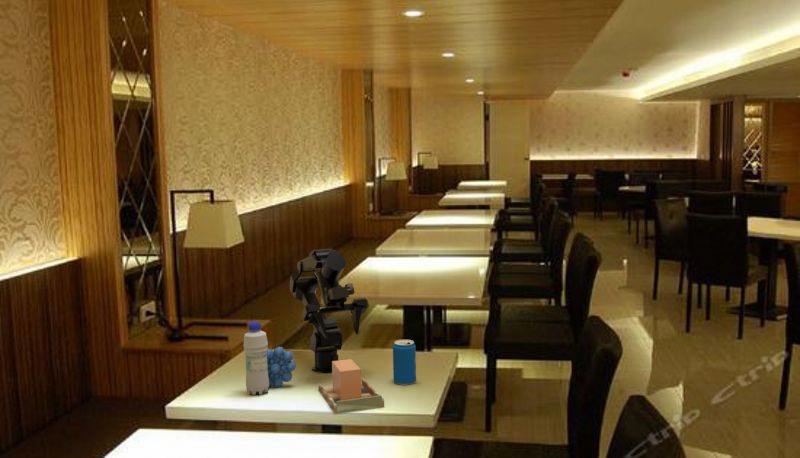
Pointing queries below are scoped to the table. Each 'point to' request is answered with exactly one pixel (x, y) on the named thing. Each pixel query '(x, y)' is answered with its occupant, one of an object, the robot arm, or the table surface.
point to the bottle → (256, 359)
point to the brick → (346, 379)
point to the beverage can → (404, 362)
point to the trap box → (367, 400)
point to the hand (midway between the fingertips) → (342, 336)
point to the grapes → (279, 366)
